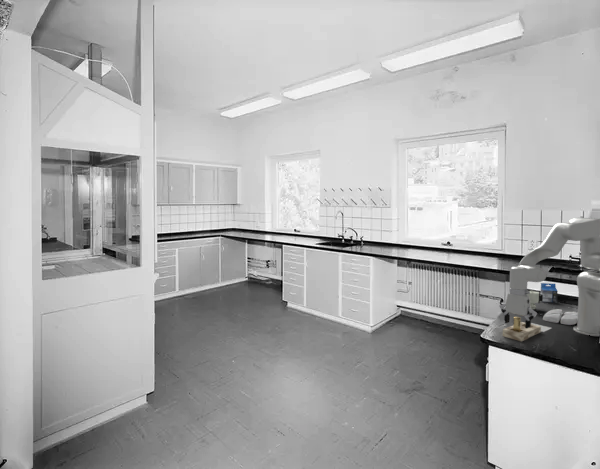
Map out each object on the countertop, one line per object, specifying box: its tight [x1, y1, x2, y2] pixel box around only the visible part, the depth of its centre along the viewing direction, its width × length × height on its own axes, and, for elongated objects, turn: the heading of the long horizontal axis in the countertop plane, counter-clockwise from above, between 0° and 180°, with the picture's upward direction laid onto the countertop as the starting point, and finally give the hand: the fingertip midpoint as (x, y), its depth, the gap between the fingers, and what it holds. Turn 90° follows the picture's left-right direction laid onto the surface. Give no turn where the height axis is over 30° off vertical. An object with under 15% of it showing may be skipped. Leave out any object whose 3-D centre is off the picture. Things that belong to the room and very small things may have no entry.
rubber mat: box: [531, 322, 552, 333], centre depth 192 cm, size 10×10×1 cm
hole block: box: [502, 321, 542, 342], centre depth 183 cm, size 9×20×4 cm, turn 123°
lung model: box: [542, 308, 578, 326], centre depth 207 cm, size 7×17×25 cm
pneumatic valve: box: [527, 290, 543, 311], centre depth 227 cm, size 6×12×12 cm, turn 56°
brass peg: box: [512, 316, 522, 332], centre depth 180 cm, size 3×3×10 cm
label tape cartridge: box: [540, 282, 558, 304], centre depth 243 cm, size 9×4×12 cm, turn 73°
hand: (517, 325), depth 180 cm, fingers open, 9 cm apart
